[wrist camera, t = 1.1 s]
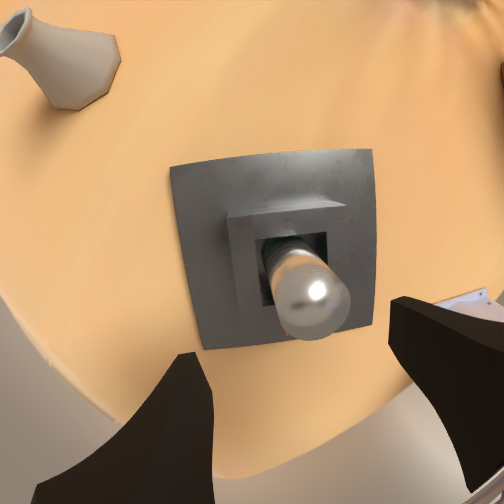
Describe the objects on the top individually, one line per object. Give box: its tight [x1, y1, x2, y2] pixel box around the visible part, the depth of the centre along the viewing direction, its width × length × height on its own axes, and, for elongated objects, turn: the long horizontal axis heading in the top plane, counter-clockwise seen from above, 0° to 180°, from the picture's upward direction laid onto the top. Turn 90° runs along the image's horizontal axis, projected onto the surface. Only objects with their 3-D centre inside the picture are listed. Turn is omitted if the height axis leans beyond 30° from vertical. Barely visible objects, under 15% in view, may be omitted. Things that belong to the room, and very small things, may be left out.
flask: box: [0, 7, 121, 110], centre depth 10 cm, size 7×7×10 cm
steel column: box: [262, 235, 351, 341], centre depth 15 cm, size 3×3×8 cm
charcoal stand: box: [170, 149, 377, 350], centre depth 18 cm, size 14×14×4 cm
